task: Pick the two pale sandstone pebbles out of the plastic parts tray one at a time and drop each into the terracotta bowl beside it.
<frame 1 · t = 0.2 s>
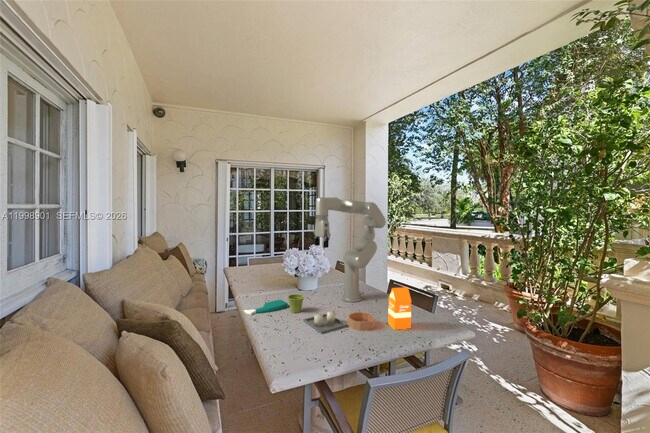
hand: (321, 246, 174), 36 cm above the table, tool pointing down, fingers open, 9 cm apart
orange juice: (399, 326, 148), on the table
pebble a: (330, 322, 152), resting on parts tray
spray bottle: (266, 310, 170), on the table
plant pot: (295, 311, 167), on the table
pebble b: (318, 325, 147), resting on parts tray
parts tray: (324, 324, 149), on the table
bowl: (361, 325, 149), on the table
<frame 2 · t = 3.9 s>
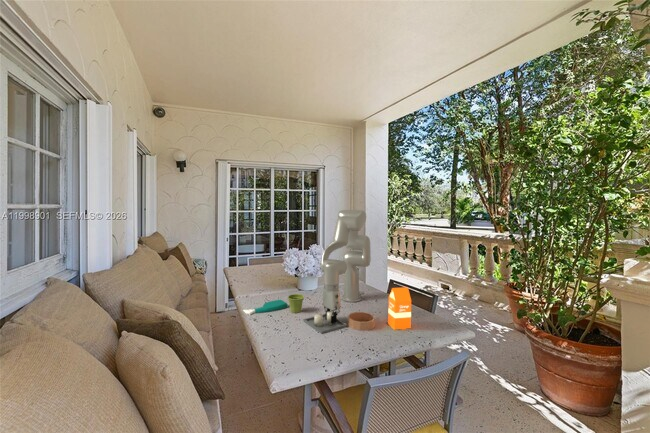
hand: (330, 320, 152), 1 cm above the table, tool pointing down, fingers closed on pebble a, 4 cm apart
pebble a: (330, 322, 152), resting on parts tray, touching gripper
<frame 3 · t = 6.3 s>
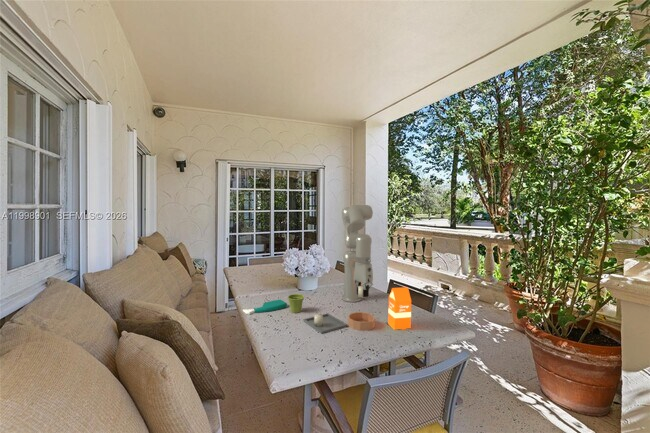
hand: (362, 295, 150), 15 cm above the table, tool pointing down, fingers closed on pebble a, 4 cm apart
pebble a: (362, 296, 150), point 15 cm above the table, touching gripper
when the fingers open (4 cm above the table, at t = 8.9 s): pebble a drops 3 cm, resting on bowl.
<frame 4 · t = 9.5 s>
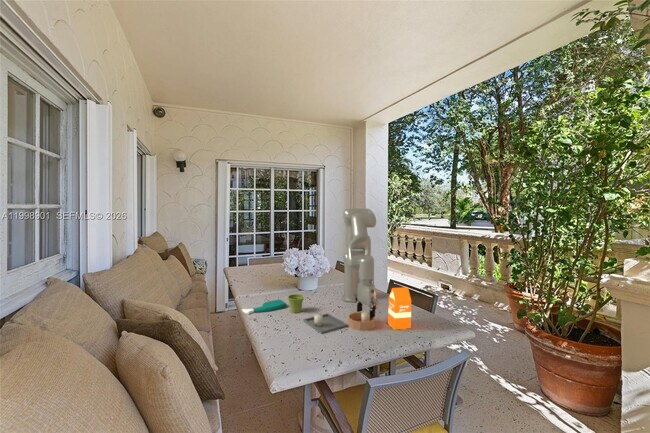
hand: (365, 314, 150), 5 cm above the table, tool pointing down, fingers open, 9 cm apart
pebble a: (365, 322, 150), point 1 cm above the table, touching bowl
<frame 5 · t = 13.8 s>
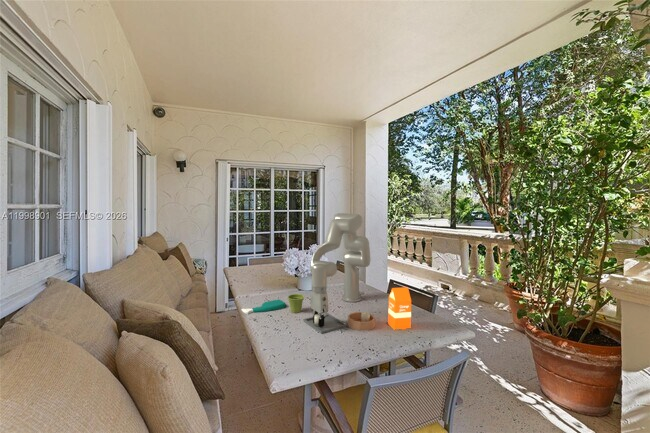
hand: (318, 324, 147), 1 cm above the table, tool pointing down, fingers closed on pebble b, 4 cm apart
pebble b: (318, 325, 147), resting on parts tray, touching gripper
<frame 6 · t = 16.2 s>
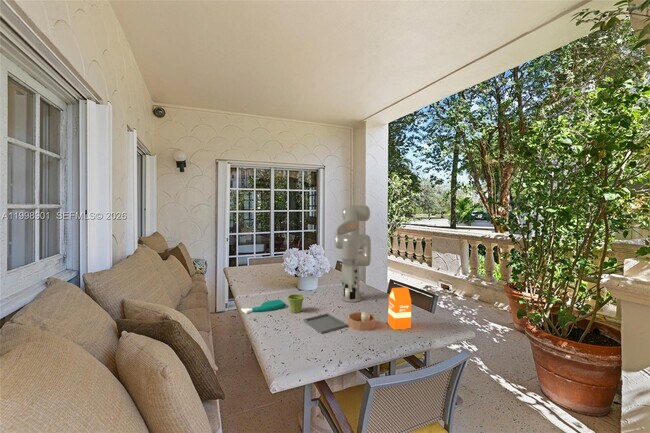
hand: (349, 297, 146), 15 cm above the table, tool pointing down, fingers closed on pebble b, 4 cm apart
pebble b: (349, 298, 146), point 15 cm above the table, touching gripper
when the fingers open (4 cm above the table, at t = 19.0 s): pebble b drops 3 cm, resting on bowl.
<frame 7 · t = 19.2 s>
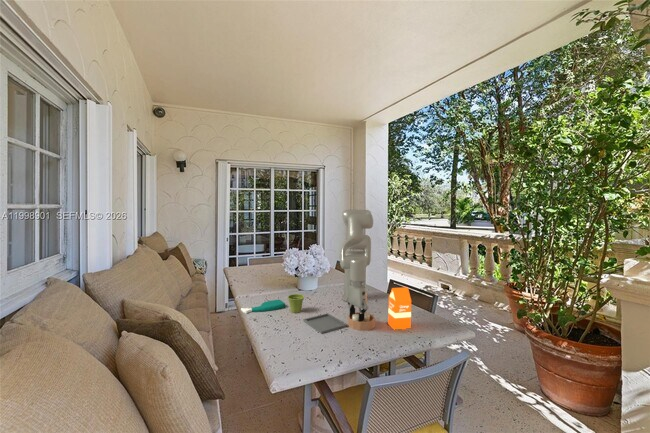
hand: (356, 317, 147), 5 cm above the table, tool pointing down, fingers open, 6 cm apart
pebble b: (356, 325, 147), point 1 cm above the table, touching bowl
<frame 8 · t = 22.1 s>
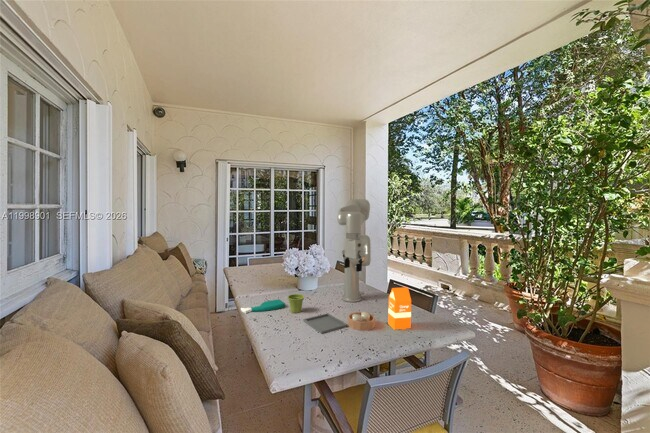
hand: (352, 269, 150), 28 cm above the table, tool pointing down, fingers open, 9 cm apart
at the end: pebble a inside the target area on the bowl (3.0 cm from its centre), point 0.8 cm above the bowl's base; pebble b inside the target area on the bowl (3.0 cm from its centre), point 0.8 cm above the bowl's base; the gripper is holding nothing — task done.
